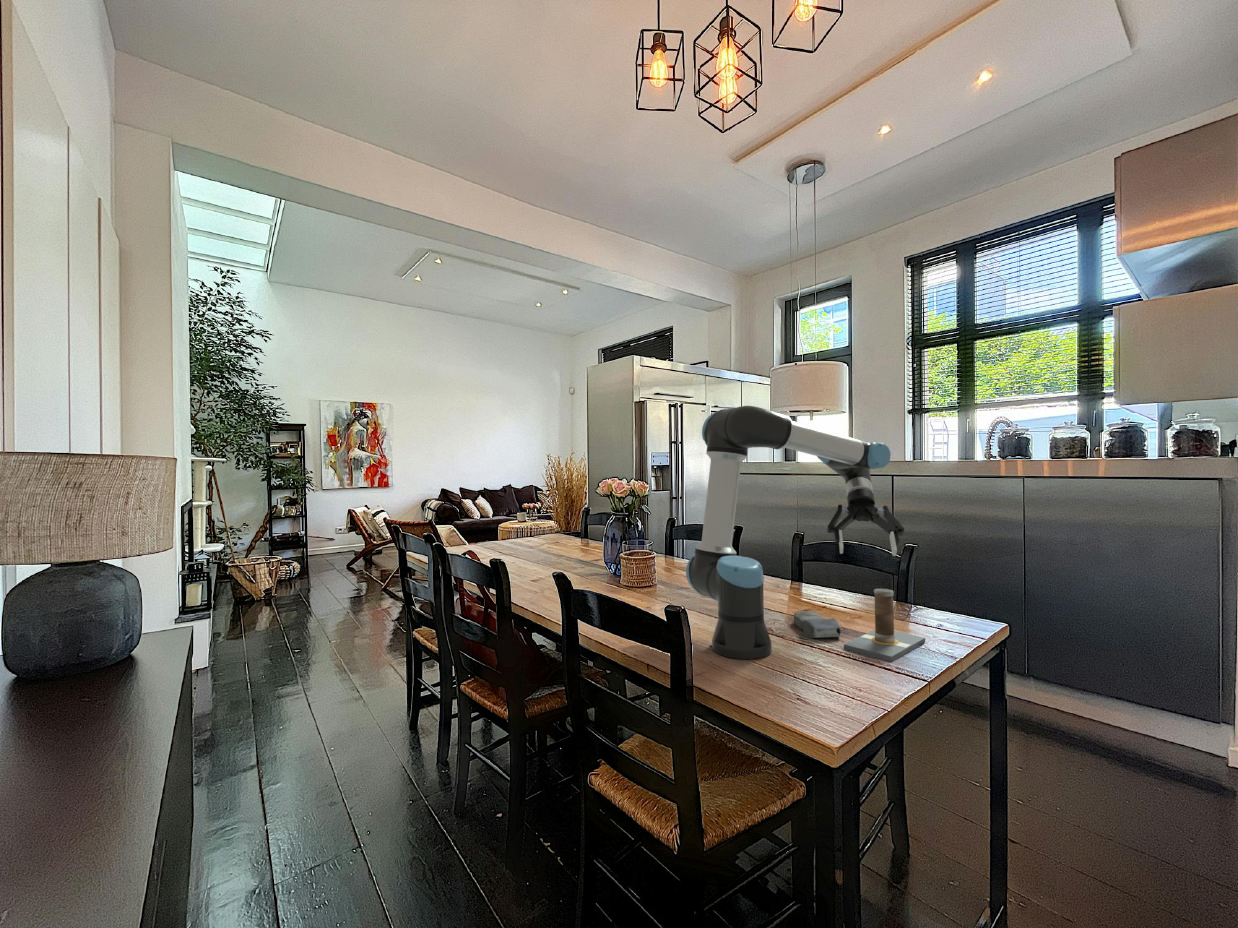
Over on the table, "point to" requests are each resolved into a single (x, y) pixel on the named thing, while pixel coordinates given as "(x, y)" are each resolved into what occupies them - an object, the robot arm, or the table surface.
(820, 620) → the handheld device
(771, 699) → the table surface
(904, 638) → the board
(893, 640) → the tall brown post
